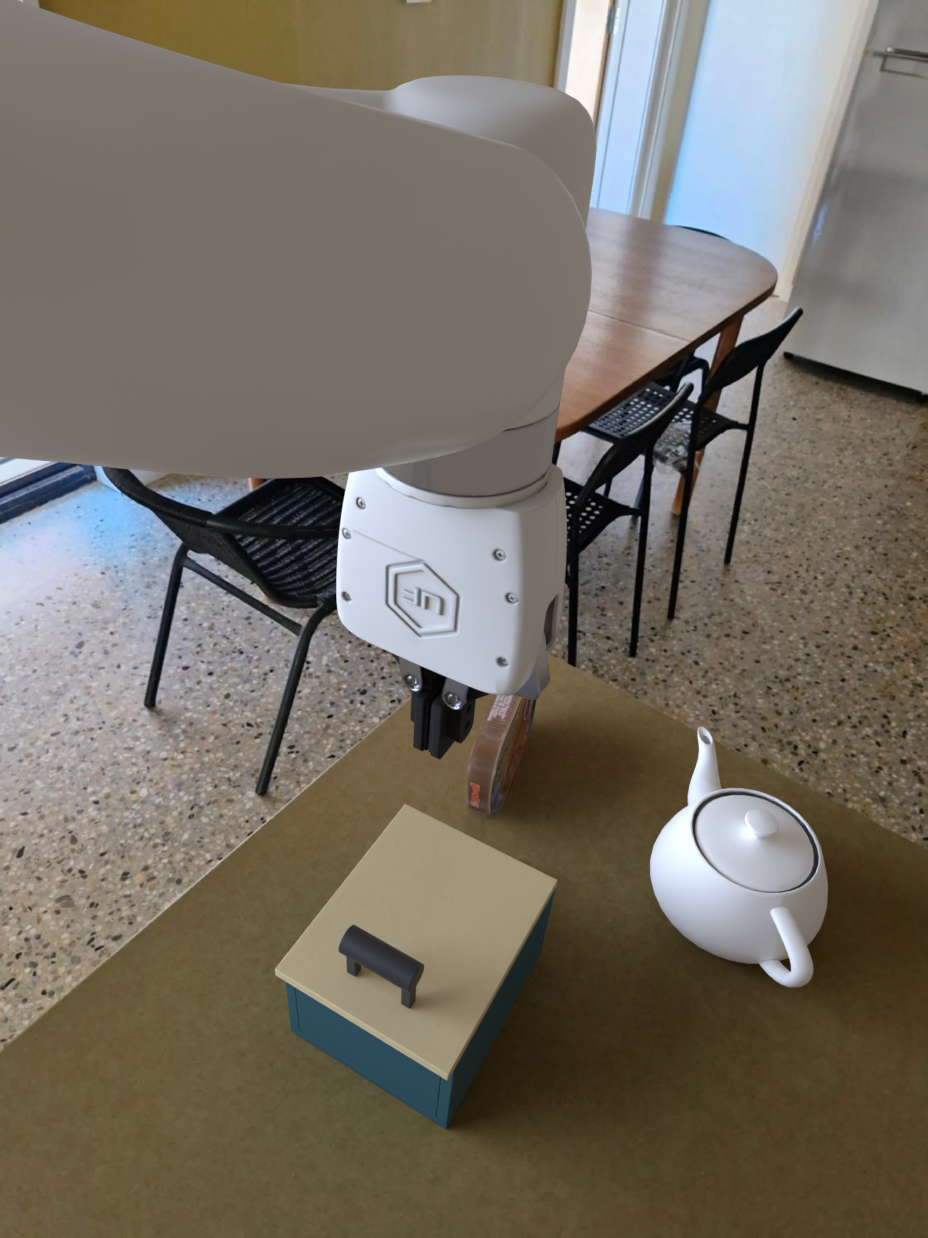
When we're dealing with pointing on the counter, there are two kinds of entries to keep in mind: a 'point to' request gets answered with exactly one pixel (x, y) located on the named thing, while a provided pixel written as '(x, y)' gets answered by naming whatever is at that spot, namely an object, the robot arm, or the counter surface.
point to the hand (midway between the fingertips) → (440, 737)
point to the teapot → (741, 874)
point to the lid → (420, 938)
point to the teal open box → (395, 1067)
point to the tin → (498, 752)
